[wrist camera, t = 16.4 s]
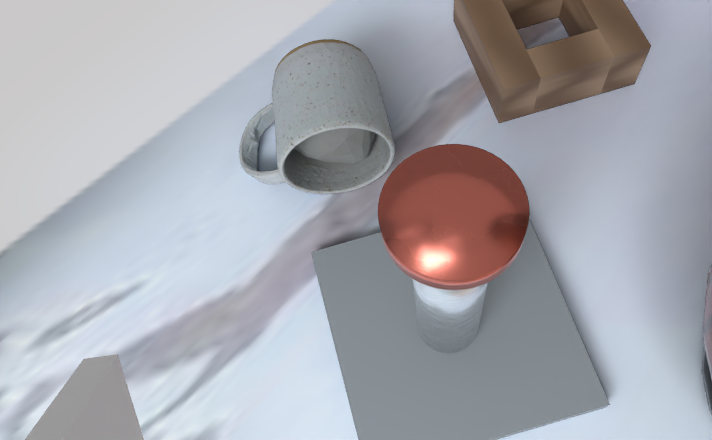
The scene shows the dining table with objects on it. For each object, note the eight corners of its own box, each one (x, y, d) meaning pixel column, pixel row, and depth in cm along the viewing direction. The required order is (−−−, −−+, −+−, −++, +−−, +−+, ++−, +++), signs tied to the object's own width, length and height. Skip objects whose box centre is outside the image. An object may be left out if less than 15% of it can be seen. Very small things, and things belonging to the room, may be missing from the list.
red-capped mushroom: (417, 382, 38) (402, 298, 23) (390, 294, 40) (361, 167, 25) (509, 354, 38) (553, 254, 23) (476, 268, 40) (498, 127, 25)
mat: (369, 476, 37) (367, 475, 36) (313, 257, 43) (311, 252, 42) (605, 407, 37) (609, 404, 36) (516, 199, 43) (517, 192, 42)
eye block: (498, 123, 46) (503, 88, 42) (453, 20, 50) (454, -19, 46) (634, 83, 46) (650, 46, 42) (577, -16, 50) (587, -57, 46)
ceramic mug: (377, 87, 48) (364, 14, 41) (400, 181, 45) (391, 118, 38) (239, 120, 49) (204, 54, 42) (252, 215, 45) (215, 160, 38)
